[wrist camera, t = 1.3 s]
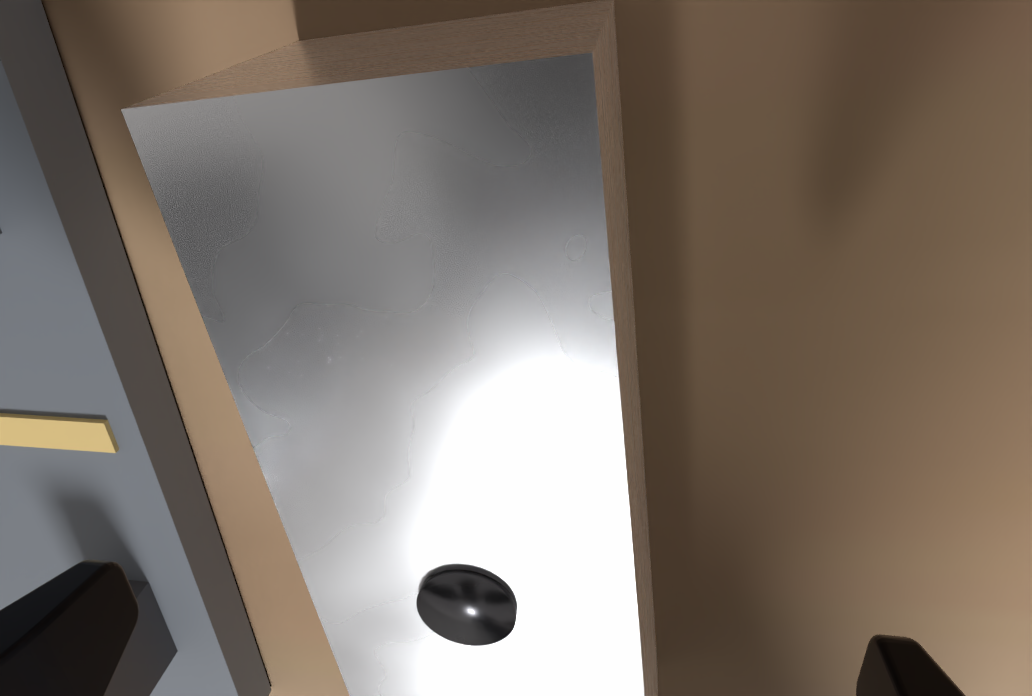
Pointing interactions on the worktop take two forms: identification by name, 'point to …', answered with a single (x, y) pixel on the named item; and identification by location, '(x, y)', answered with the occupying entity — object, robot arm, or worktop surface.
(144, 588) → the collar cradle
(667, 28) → the worktop surface
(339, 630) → the shiny metal block
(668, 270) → the worktop surface
